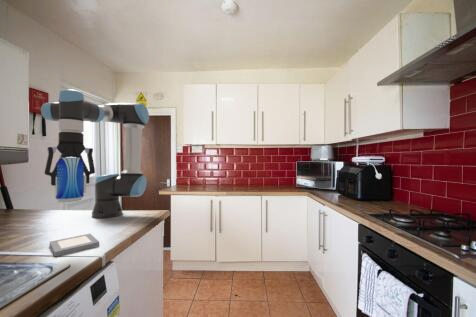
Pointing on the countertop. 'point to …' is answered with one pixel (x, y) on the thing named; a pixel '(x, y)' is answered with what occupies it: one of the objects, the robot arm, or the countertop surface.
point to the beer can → (70, 179)
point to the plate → (73, 244)
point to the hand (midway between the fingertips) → (70, 193)
